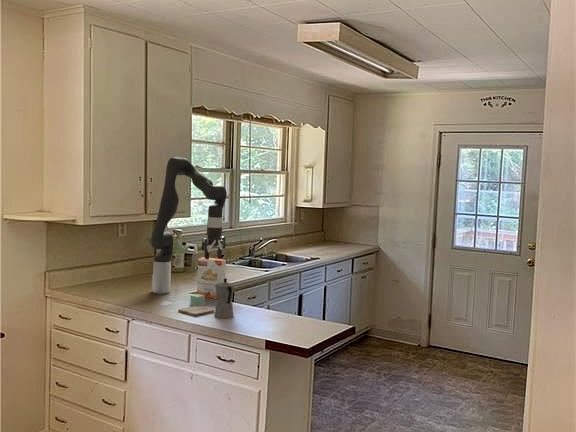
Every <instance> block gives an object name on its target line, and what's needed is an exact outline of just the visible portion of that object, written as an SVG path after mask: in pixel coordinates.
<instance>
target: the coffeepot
mask: <svg viewBox="0 0 576 432" xmlns="http://www.w3.org/2000/svg"><path fill="white" fill-rule="evenodd" d="M227 281H228V278H226V277H225V279H224V282H222V283H217V284H216V285H215V286H216V295H217V299H216V301H217V302H216V307H215V310H214V317H215V318H217V319H232V318H234V309H233V301H232V299H233V295H234V289H235V286H236V285H235V283H231V282H227Z"/></svg>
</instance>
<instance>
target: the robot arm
mask: <svg viewBox="0 0 576 432" xmlns="http://www.w3.org/2000/svg"><path fill="white" fill-rule="evenodd" d="M177 176H184V177H188V178H190V179H191V183H192V185H193V186H194V187H196V188H197V189H198V190H199V191H201V192H202V194H203V195H204V197H205V198H206V199H208V200H211V201H214V203H213V204H210V205H209V206H208V209H207V210H208V211H207V221H206V236H207V238H202V239H201V251H203V252H204V257H205V259H209V258H210V251H211V249H212V248H214V247H216V248H217V253H216V257H217V258H218V259H222V256H223V250H224V249H226V237H225V236H223V210H224V206H225V202H226V200H227V195H228V194H227V193H228V192H227V189H226V188H225V186H223V185H214V183H213V181H212V180H211V179H210V178H208V177H207V176H205V175H204V174H202V173H201V172H200V171H199V170H198V169H197V168H196V167H195V166H194V165H193V164H192V163H191V161H189V159H187V158H185V157H170V158H169V159H168V161H167V164H166V170H165V178H164V185H163V191H162V196H161V199H160V203H159V209H158V213H157V218H156V221H155V223H154V228H153V230H152V234H151V238H150V244H151V247H152V249H154V250H160V251H159V252H158V253H157V254H155V255H154V256H153V272H152V274H151V275H152V276H151V292H152V293H153V294H156V295H157V294H159V295H160V294H161V295H164V294H170V292H171V277H172V276H171V274H172V273H171V272H172V271H171V270H172V257H173V253H174V235H173V234H172V232H170V231H165V230H166V227H167V225H168V224H169V222H170V221H172V219H173V217H174V216H175V215H176V213H177V211H178V206H179V202H180V197H179V194H178V192H177V188H176V180H177Z"/></svg>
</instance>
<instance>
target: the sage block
mask: <svg viewBox="0 0 576 432" xmlns="http://www.w3.org/2000/svg"><path fill="white" fill-rule="evenodd" d="M205 300H206V298H205V296H204V295H200V294H197V293H196V294H195V293H194V294H191V295H190V301H189V303H190V306H191V307H192V306H197V305H198V306H201V307H204V306H205V303H206V302H205Z"/></svg>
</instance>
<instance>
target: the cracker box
mask: <svg viewBox="0 0 576 432" xmlns="http://www.w3.org/2000/svg"><path fill="white" fill-rule="evenodd" d="M197 260H198V261H197V279H196V280H197V282H196V283H197V284H196V285H197V287H196V294H200V295H204V296H205V299H206V298H207V299H213V300H218V299H217V295H216V286H215V285H216V284H217V283H222V282H224V279H225V278H226V274H227V272H226V271H227V267H226V266H227V259H224V258H214V257H213V258H212V257H209V259H205V256H204V257H203V256H202V257H199V258H198V259H197Z"/></svg>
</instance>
